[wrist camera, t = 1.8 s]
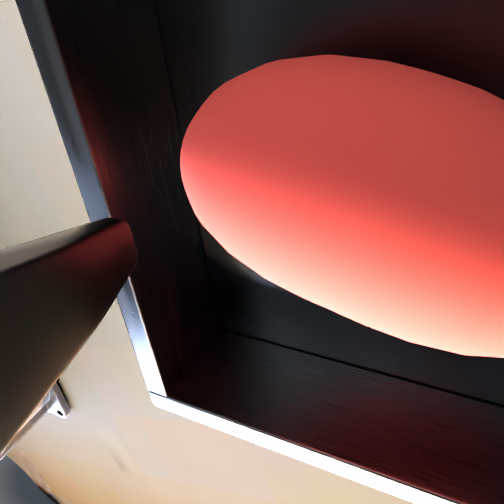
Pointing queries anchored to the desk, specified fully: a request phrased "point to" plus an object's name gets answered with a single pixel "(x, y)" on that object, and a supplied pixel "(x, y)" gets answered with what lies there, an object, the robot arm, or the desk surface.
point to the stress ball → (361, 193)
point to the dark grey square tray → (240, 275)
